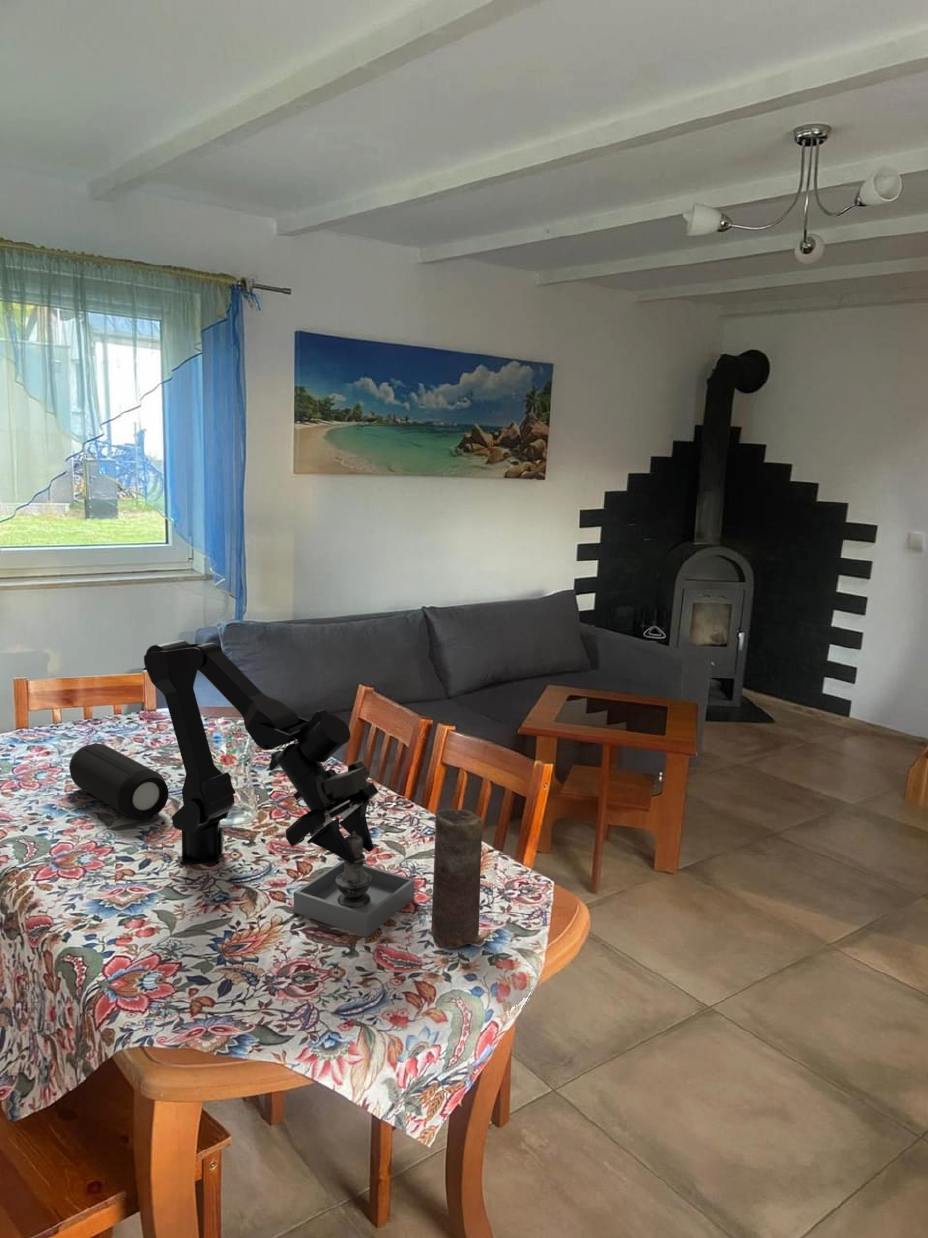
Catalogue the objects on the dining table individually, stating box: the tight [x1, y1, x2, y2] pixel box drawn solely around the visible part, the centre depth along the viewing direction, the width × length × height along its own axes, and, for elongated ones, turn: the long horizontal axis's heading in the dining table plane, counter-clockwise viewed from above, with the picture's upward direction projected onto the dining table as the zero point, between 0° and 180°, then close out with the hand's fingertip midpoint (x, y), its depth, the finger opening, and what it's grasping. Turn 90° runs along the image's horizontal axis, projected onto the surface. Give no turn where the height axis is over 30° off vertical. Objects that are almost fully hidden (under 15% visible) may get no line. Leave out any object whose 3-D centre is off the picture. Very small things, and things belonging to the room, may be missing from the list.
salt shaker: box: [336, 830, 372, 908], centre depth 145 cm, size 6×6×12 cm
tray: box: [293, 859, 416, 938], centre depth 146 cm, size 14×14×4 cm
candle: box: [430, 808, 483, 949], centre depth 136 cm, size 8×7×20 cm
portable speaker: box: [68, 743, 170, 820], centre depth 182 cm, size 26×10×10 cm, turn 48°
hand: (363, 856), depth 144 cm, fingers open, 5 cm apart
